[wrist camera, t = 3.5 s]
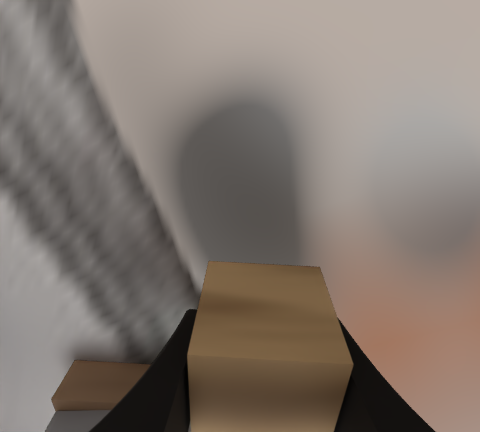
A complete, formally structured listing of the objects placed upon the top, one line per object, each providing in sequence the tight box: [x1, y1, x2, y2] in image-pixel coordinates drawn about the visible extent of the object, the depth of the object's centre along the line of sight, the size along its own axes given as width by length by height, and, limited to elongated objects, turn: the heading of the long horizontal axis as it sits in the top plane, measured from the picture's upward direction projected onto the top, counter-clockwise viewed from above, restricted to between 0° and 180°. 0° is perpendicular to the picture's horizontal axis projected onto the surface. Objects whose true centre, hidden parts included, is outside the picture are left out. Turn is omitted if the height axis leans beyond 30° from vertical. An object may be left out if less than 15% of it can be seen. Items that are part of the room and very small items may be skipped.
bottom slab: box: [51, 360, 151, 411], centre depth 16 cm, size 8×8×2 cm
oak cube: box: [187, 261, 354, 432], centre depth 11 cm, size 4×4×4 cm
